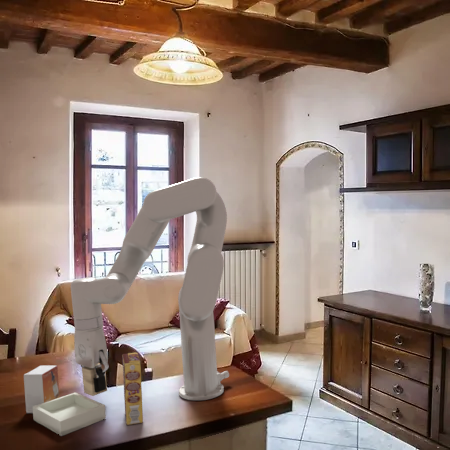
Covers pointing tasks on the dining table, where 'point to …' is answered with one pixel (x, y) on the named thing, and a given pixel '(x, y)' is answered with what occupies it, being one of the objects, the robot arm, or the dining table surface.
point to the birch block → (90, 381)
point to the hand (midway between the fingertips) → (95, 388)
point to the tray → (69, 413)
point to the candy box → (132, 388)
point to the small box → (41, 386)
